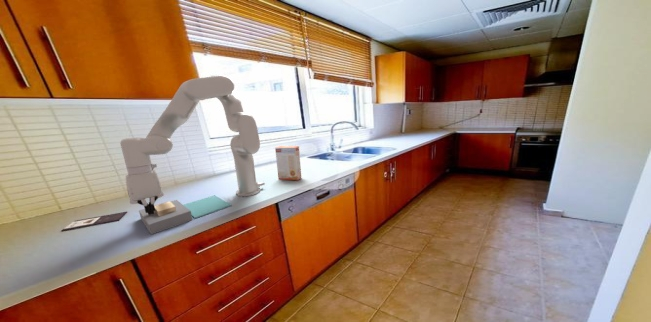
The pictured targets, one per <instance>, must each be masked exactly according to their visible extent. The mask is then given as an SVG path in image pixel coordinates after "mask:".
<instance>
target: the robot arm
mask: <svg viewBox="0 0 651 322" xmlns="http://www.w3.org/2000/svg"><path fill="white" fill-rule="evenodd" d="M215 98H216V99H218V100H219V101H220V103H221V105H222V107H223V111H224V114H225V118H226V123H227V126H228V128H229V130H230V131H232V132H234V133H238V134H236V135H234V136H233V137H232V138H231V139H230V144H229V145H230V151H231V153H232V155H233V156H232V157H233V160H234V167H235V174H236V182H237V187H238V189H237V190H236V191H235V194H236V196H237V197H250V196H254V195H257V194H258V193H260V191H261V187H262V186H265V181H261V182H260V181H258V182H257V178H256V169H255V162H254V161H255V160H254V156H253V155H254V154H257V153H258V152H259V150H260V147H261V142H260V136H259V131H258V130H259V129H258V125H257V123H256V120H255V118H254V117H253V116H252V115H251V114H250V113H248V112H245V111H244V109H243V106H242V105H243V104H242V101H241V99H240V97H239V96H238V94H237V93H236V92H235V83H234V81H233V79H232V78H230V77H229V76H227V75H225V74H220V75H212V76H207V77H206V76H205V77H197V78H192V79H188V80H186V81H184V82H182V83H181V84H180V86H179V88H178V89H177V90H176V92H175V94H174V95H173V97H172V99H171V100H170V102H169V103H168V105H167V107H166V108H165V110H164V111H163V112H162V113H161V115H160V117H159V118H158V119H157V120H156V122H155V123H154V124H153V126H152V127H151V129H150V131H149V132H148V133H147V135H146V137H130V138H124V139H122V140H121V141H120V142H119V143H120V147H121V148H120V149H121V151H122V157H123V159H124V163H125V166H126V170H127V174H126V175H125V184H126V190H127V194H128V198H129V204H130V205H138V204H139V205H141V206H143V207H144V208H143V209H145V212H146V213H148V214H149V215H151V213H152V214H154V211H155V207H154V205H155V203H156V201H157V200H158V199H159V198H161V197H164V195H165V194H164V193H163V188H162V185H161V182H160V178H159V176H158V174H157V172H156V170H154V169H156V168H157V167H158V166H157V163H156V164H154V163H152V161H151V156H156V155H157V156H158V155H165V154H168V153H169V152H171V151H172V150H173V147H174V145H173V142H172V140H171V137H172V136H173V134H174V133H175V132H176V131H177V129H179V128H180V127H181V126H183V125H184V124H185V123H187V122H188V121H189V120H190V117H191V116H192V114H193V112H194V110H195V109H196V107H197V105H198V103H199V102H200V101H203V100H210V99H215ZM146 199H149V202H147V200H146Z"/></svg>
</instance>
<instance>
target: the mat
mask: <svg viewBox="0 0 651 322" xmlns="http://www.w3.org/2000/svg"><path fill="white" fill-rule="evenodd" d="M183 205H184V206H185V207H186V208H188V209H189V210H190V211H191V215H192V218H193V217H194V218H193V219H198V218H201V217H205V216H207V215H210V214H213V213H216V212H218V210H219V211H221V210H224V209H227V208H229V207H232V206H233V205H232V204H231V203H230V202H228V201H226V200H224V199H222V198H220V197H218V196H216V195H212V196H207V197H204V198H201V199H198V200H194V201H191V202H188V203H185V204H183ZM215 211H216V212H215Z"/></svg>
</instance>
